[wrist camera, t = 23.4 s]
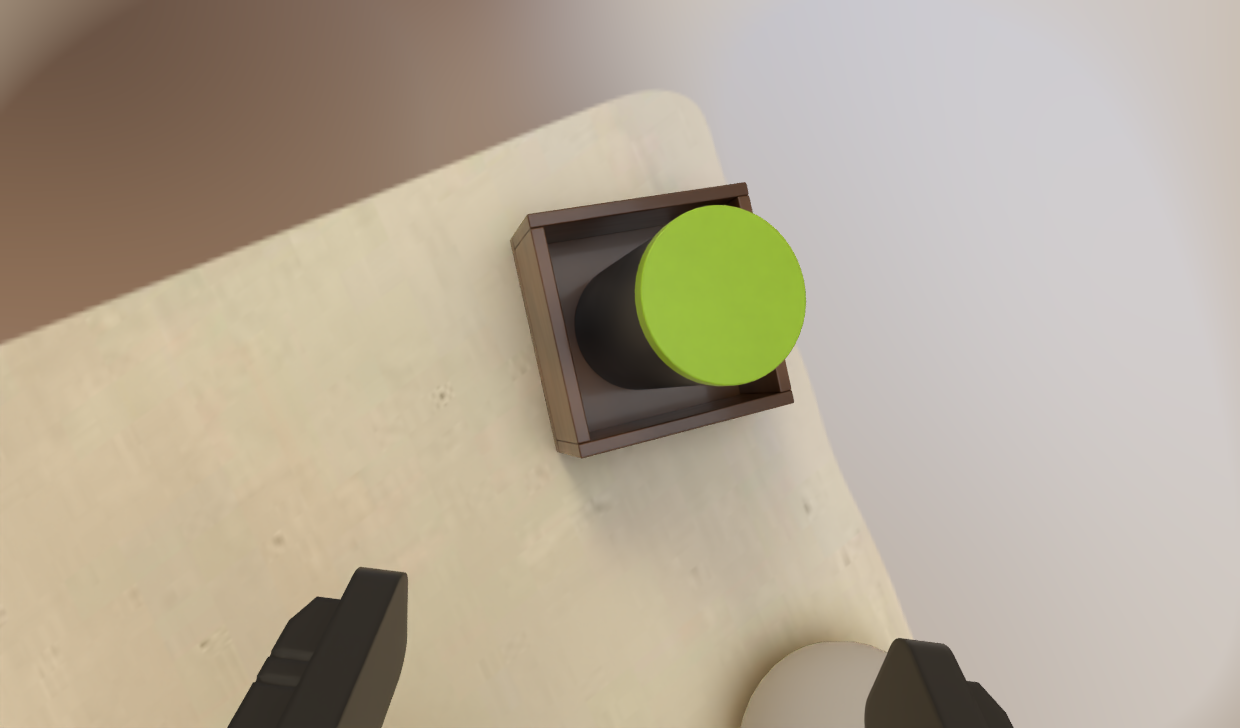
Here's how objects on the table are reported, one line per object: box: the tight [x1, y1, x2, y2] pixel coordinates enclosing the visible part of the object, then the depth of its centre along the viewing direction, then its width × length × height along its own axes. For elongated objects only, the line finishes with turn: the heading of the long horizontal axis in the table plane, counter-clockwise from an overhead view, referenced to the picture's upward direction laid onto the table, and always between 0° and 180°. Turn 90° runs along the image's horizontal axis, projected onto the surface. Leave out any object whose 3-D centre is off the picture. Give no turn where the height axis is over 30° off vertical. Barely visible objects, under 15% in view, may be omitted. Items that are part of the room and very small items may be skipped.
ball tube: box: [575, 205, 806, 390], centre depth 30 cm, size 6×6×10 cm
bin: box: [510, 182, 794, 458], centre depth 33 cm, size 10×10×5 cm
